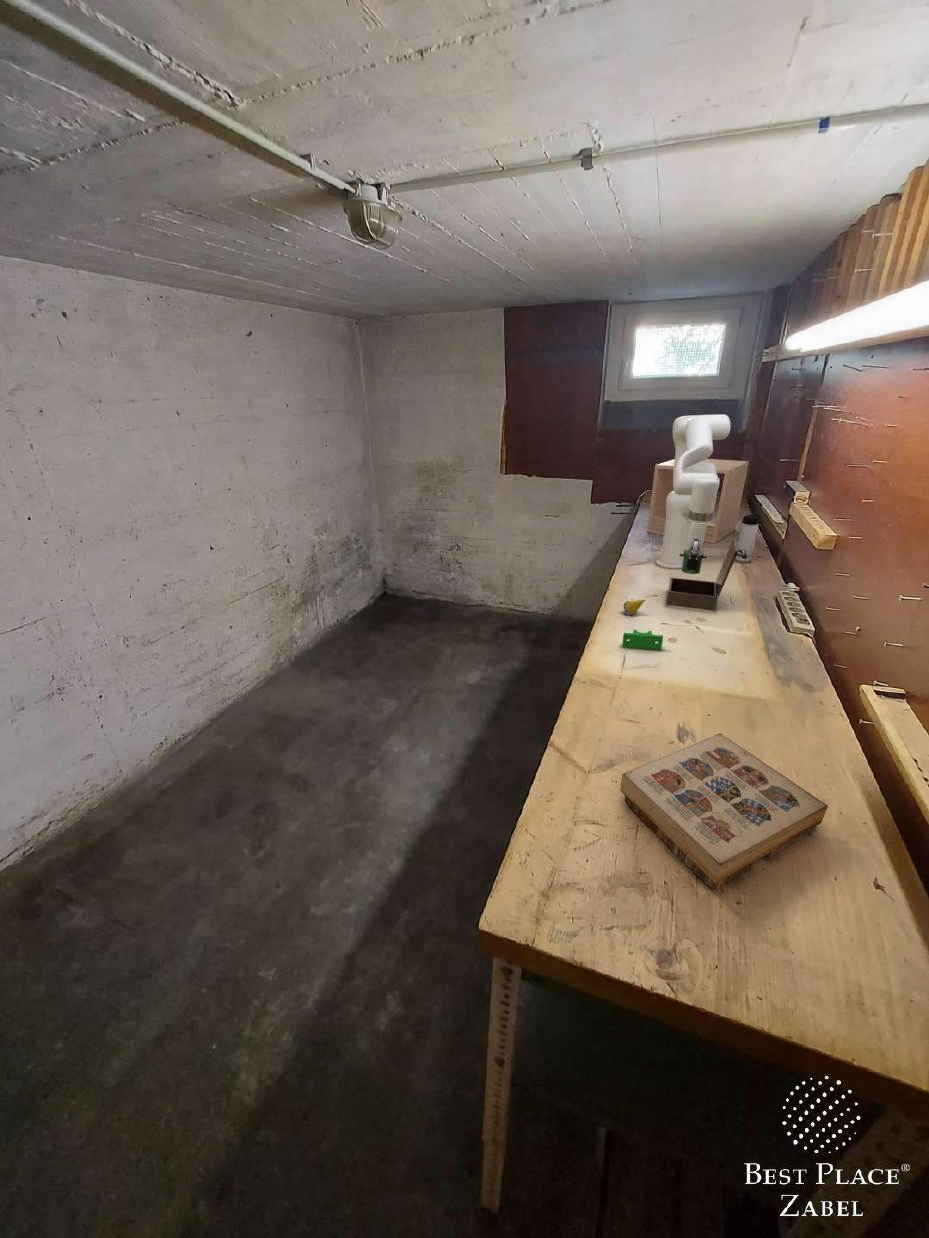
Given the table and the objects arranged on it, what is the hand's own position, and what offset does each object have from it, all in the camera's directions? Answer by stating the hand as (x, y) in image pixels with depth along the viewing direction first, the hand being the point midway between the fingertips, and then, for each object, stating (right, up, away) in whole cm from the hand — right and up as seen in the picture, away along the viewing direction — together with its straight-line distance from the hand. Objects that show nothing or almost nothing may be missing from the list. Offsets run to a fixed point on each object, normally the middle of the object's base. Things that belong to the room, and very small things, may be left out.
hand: (691, 565), depth 170 cm
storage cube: (+39, +27, +84) cm, 96 cm away
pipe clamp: (-26, -27, -22) cm, 44 cm away
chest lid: (+9, -1, -5) cm, 10 cm away
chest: (+2, -13, +5) cm, 14 cm away
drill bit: (-22, -17, -3) cm, 28 cm away
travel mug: (+41, +6, +40) cm, 58 cm away
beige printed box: (-33, -55, -78) cm, 101 cm away
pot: (0, -2, +1) cm, 2 cm away
